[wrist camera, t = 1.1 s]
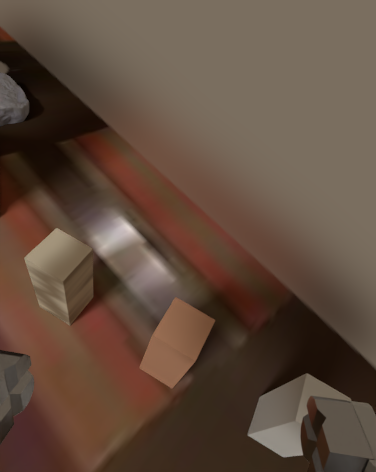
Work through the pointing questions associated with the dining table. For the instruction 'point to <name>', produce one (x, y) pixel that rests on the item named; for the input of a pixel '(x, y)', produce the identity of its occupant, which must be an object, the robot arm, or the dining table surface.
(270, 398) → the white block
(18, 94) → the stone block
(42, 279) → the birch block
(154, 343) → the terracotta block
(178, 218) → the dining table surface
